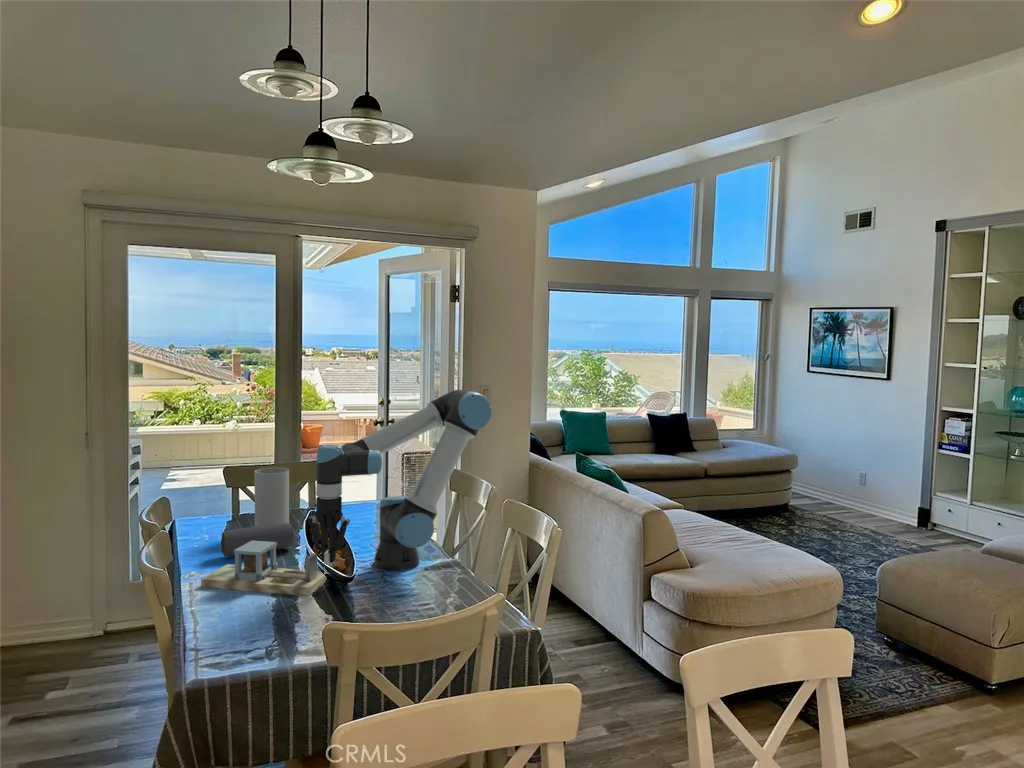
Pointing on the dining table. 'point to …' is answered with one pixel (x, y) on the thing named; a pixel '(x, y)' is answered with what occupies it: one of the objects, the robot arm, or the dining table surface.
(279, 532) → the bluetooth speaker
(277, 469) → the cylinder vase
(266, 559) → the block
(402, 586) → the dining table surface
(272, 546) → the tunnel
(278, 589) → the platform
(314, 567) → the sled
